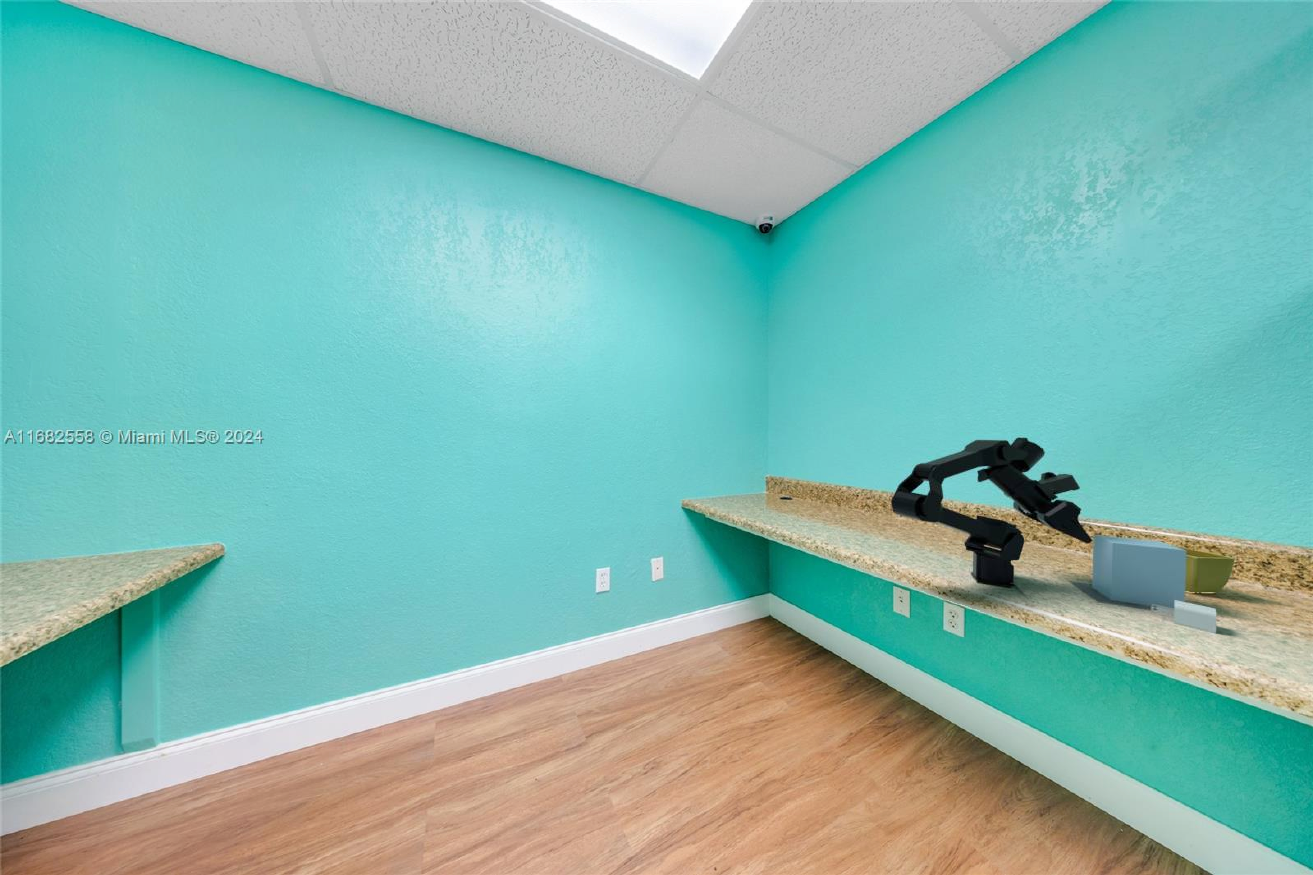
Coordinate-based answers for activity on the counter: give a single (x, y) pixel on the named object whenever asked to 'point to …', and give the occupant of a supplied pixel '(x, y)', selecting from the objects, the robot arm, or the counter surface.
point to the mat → (1103, 599)
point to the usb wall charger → (1191, 615)
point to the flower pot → (1206, 571)
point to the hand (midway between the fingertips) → (1078, 537)
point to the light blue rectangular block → (1139, 571)
